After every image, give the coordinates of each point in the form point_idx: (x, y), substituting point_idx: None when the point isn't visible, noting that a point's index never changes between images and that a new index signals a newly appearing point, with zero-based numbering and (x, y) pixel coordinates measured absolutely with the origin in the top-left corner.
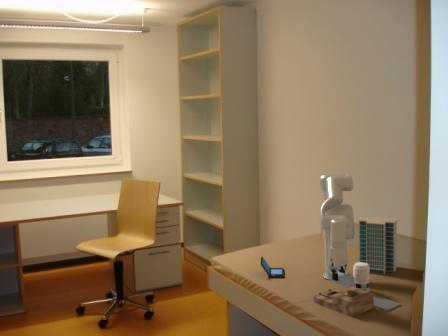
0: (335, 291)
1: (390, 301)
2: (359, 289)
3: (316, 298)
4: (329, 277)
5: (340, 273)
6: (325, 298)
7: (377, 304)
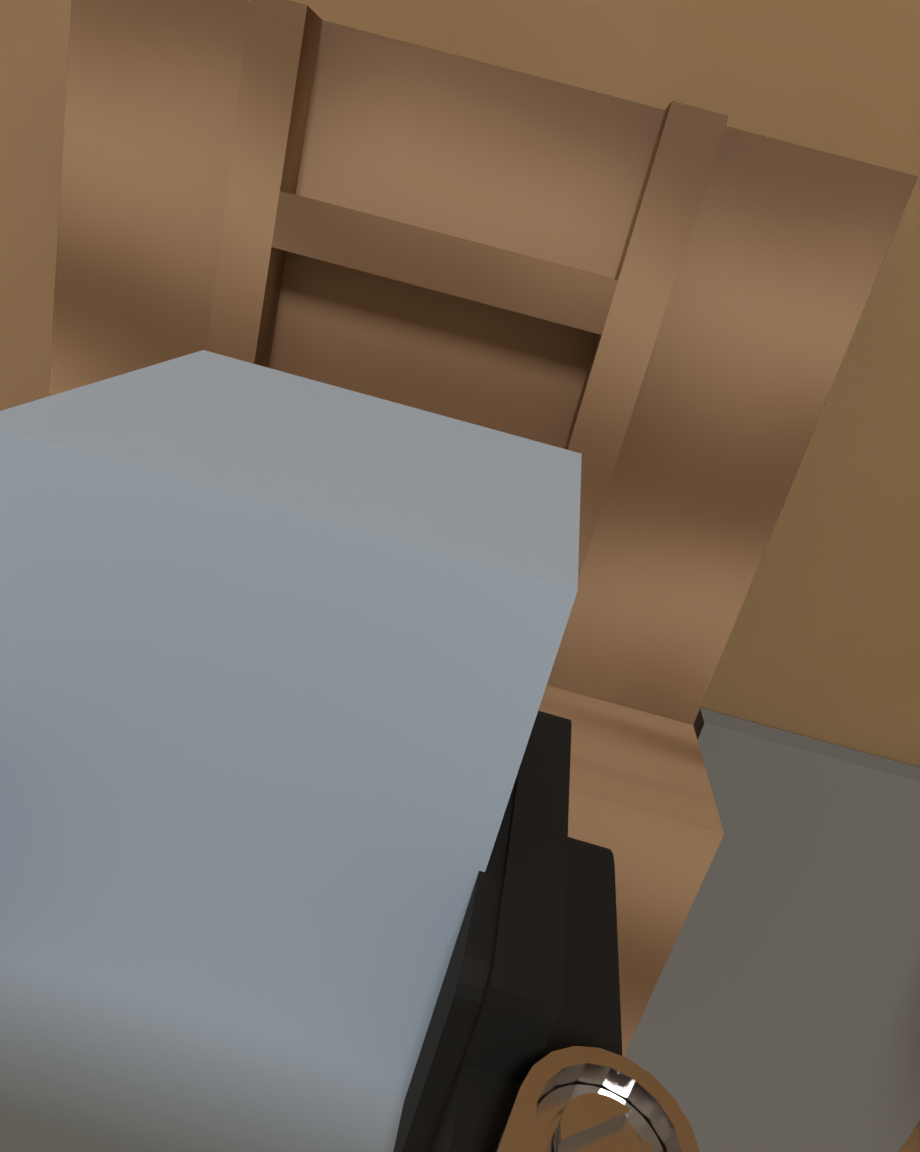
0: (594, 359)
1: (862, 1143)
2: (651, 976)
3: (84, 68)
4: (140, 377)
5: (295, 983)
6: (163, 299)
7: (647, 1035)
